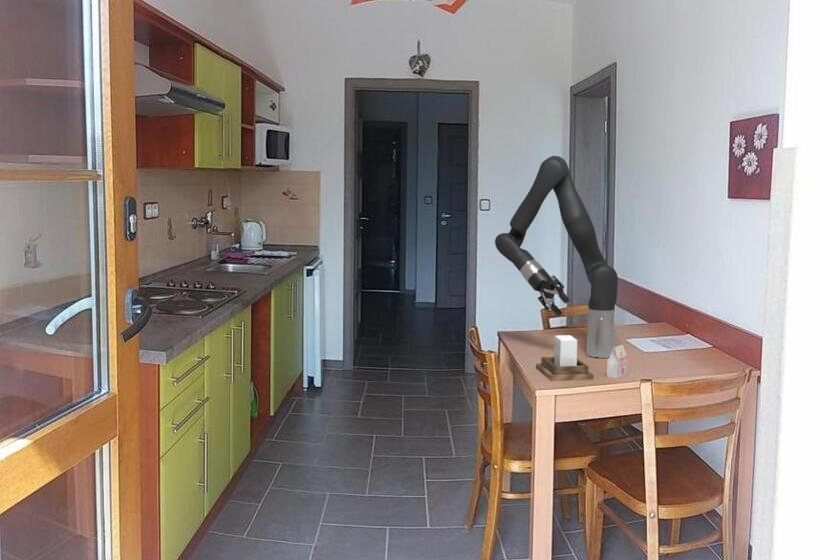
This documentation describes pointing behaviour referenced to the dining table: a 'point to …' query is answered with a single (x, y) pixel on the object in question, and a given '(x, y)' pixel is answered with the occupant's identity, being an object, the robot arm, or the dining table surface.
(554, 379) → the walnut cradle
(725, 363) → the dining table surface
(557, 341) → the small box
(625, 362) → the milk carton
